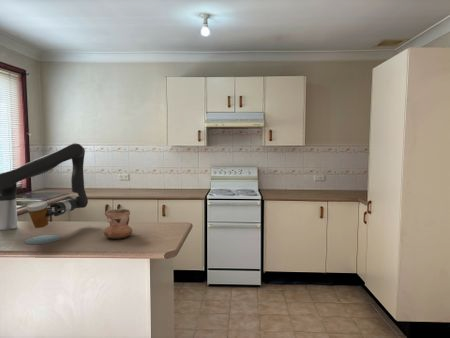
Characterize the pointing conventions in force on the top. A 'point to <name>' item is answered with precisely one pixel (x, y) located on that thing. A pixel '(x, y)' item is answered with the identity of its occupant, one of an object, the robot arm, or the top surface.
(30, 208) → the disposable coffee cup
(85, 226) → the top surface
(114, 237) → the ceramic jug
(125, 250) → the top surface
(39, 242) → the mat
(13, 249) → the top surface
